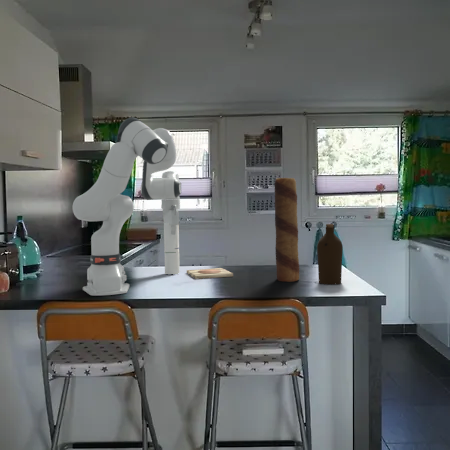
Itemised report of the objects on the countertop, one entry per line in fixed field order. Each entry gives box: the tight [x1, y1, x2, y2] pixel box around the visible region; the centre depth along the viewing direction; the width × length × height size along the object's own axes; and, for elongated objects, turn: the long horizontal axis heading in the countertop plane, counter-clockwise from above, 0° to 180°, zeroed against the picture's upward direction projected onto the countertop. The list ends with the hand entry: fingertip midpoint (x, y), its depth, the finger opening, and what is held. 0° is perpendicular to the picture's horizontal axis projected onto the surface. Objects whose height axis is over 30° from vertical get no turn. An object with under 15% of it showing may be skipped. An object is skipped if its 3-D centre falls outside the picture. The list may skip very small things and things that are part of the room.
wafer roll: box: [274, 177, 300, 283], centre depth 206 cm, size 10×11×45 cm
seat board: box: [186, 267, 234, 280], centre depth 225 cm, size 18×18×2 cm
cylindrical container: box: [163, 222, 181, 275], centre depth 229 cm, size 7×7×25 cm
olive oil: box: [316, 223, 344, 286], centre depth 199 cm, size 11×11×25 cm
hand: (171, 233), depth 228 cm, fingers open, 8 cm apart
